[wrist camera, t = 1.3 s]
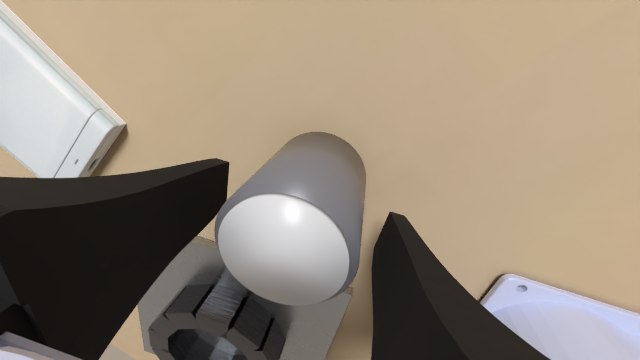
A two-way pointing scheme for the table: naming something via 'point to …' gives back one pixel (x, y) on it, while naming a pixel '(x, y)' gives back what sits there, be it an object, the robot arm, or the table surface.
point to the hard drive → (49, 108)
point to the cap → (297, 222)
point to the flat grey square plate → (229, 315)
